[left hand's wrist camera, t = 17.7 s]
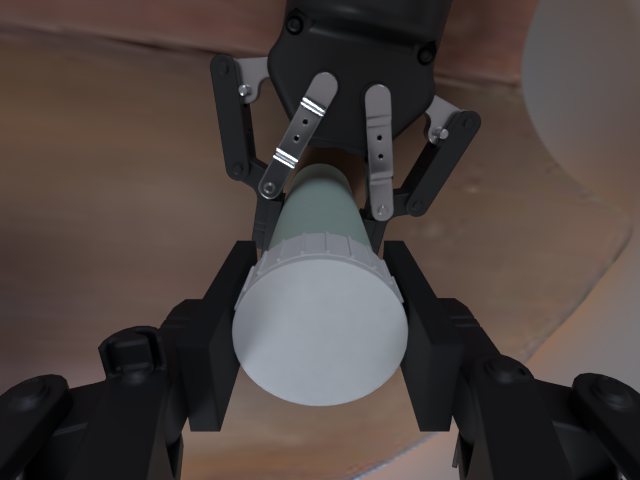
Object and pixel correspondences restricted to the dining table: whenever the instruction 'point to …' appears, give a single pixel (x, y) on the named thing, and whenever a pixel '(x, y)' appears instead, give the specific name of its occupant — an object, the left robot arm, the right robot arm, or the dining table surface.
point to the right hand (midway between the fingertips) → (311, 261)
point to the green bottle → (320, 207)
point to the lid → (320, 321)
